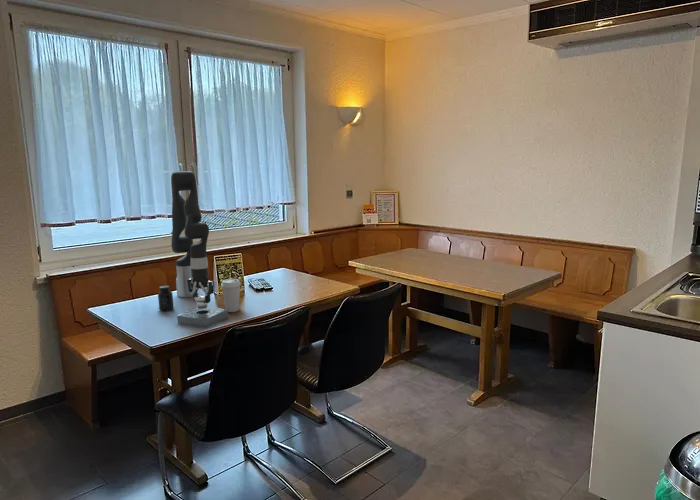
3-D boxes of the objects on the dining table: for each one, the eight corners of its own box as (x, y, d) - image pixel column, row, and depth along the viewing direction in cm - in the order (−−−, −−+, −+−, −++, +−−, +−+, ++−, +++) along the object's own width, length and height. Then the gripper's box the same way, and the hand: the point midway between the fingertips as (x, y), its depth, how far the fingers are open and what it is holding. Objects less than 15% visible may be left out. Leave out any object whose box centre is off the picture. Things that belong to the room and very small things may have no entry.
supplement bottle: (176, 308, 249) (174, 285, 247) (167, 312, 243) (165, 288, 241) (165, 307, 252) (163, 284, 249) (156, 311, 245) (154, 287, 243)
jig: (177, 323, 227) (177, 315, 226) (201, 313, 241) (200, 305, 240) (205, 328, 220) (205, 319, 220) (228, 317, 235) (227, 309, 234)
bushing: (192, 308, 228) (191, 297, 227) (201, 304, 234) (200, 294, 233) (203, 310, 226) (202, 299, 225) (212, 306, 231) (211, 295, 230)
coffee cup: (232, 314, 239) (230, 284, 236) (218, 311, 244) (216, 281, 241) (246, 308, 247) (244, 279, 244) (232, 306, 252) (230, 277, 249)
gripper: (181, 267, 225) (184, 302, 229) (206, 269, 220) (209, 305, 223) (192, 263, 232) (195, 298, 235) (217, 266, 226) (219, 301, 230)
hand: (202, 301), depth 229 cm, fingers closed on bushing, 6 cm apart
